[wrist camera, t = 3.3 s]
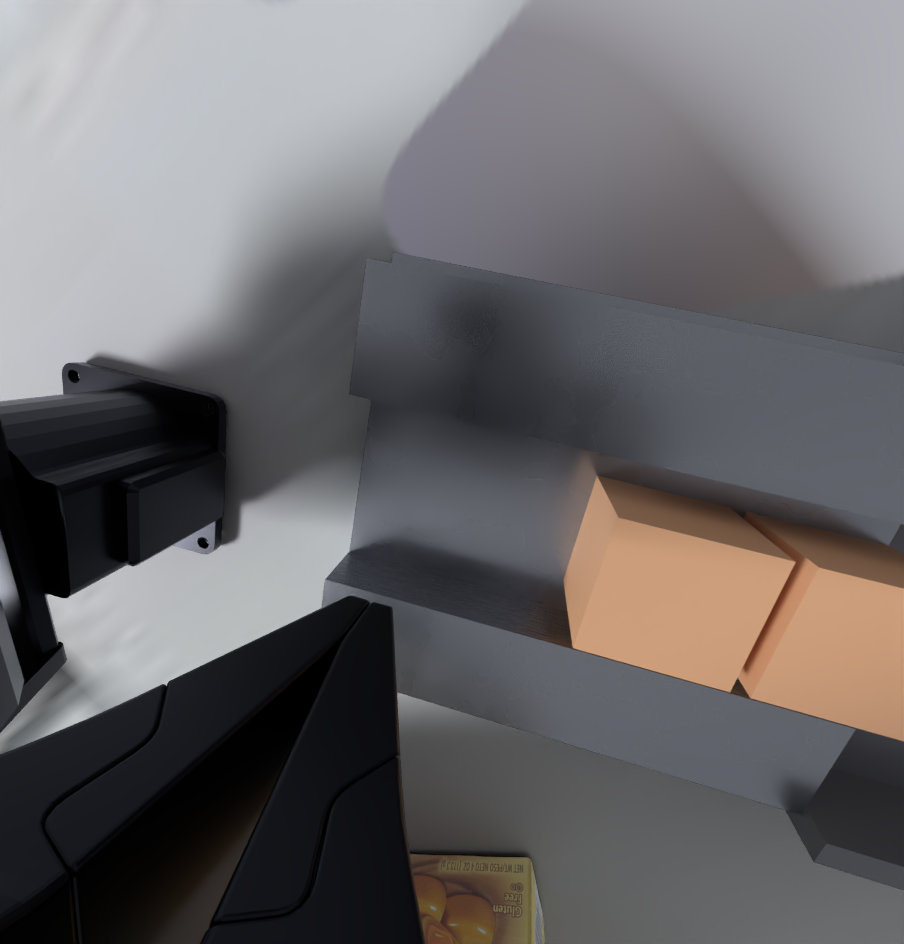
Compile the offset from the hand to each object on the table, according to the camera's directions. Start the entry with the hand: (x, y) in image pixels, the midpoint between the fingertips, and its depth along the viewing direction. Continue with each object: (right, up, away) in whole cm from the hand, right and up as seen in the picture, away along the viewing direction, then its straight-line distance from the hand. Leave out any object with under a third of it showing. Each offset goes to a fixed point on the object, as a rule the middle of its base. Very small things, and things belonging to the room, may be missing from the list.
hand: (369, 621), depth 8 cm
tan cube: (+12, -1, +6) cm, 13 cm away
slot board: (+6, +1, +7) cm, 10 cm away
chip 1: (+8, 0, +6) cm, 10 cm away
